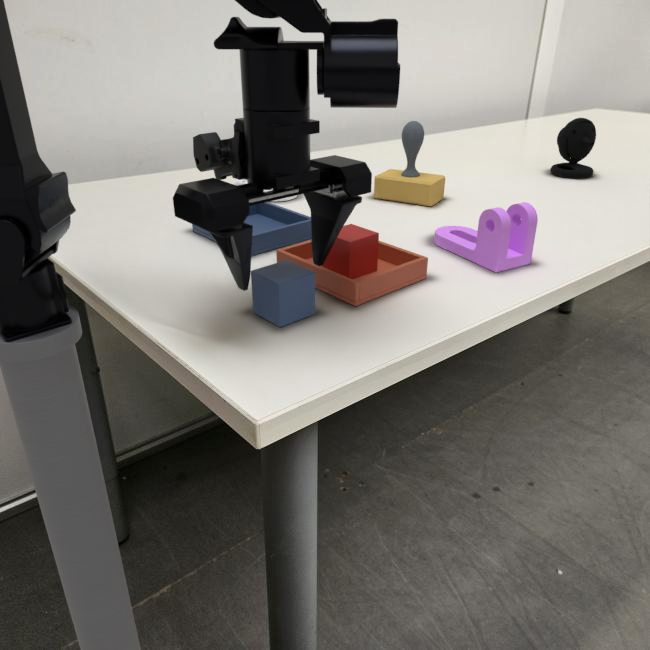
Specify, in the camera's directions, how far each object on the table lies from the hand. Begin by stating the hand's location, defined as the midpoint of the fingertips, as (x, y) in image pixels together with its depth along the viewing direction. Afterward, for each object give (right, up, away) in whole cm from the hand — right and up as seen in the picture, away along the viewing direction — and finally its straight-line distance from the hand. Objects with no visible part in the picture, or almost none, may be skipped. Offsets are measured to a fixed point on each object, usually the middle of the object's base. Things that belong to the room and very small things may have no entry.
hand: (282, 276), depth 59 cm
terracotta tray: (+7, +1, +11) cm, 13 cm away
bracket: (+23, +4, +18) cm, 29 cm away
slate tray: (-5, +8, +23) cm, 25 cm away
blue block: (0, -4, +2) cm, 4 cm away
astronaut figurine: (-6, +17, +42) cm, 46 cm away
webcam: (+50, +23, +54) cm, 77 cm away
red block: (+7, +2, +11) cm, 13 cm away
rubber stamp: (+18, +16, +39) cm, 46 cm away
